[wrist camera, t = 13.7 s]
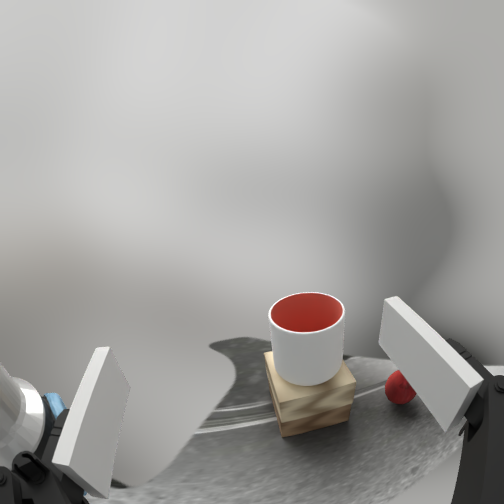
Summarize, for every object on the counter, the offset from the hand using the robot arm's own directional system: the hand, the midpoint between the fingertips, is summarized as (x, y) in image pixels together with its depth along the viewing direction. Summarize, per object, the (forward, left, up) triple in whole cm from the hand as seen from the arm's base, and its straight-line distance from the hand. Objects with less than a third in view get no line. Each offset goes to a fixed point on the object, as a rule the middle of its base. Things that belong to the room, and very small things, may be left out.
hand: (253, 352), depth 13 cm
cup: (+8, +21, -22) cm, 31 cm away
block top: (+8, +20, -27) cm, 35 cm away
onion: (+23, +15, -32) cm, 42 cm away
